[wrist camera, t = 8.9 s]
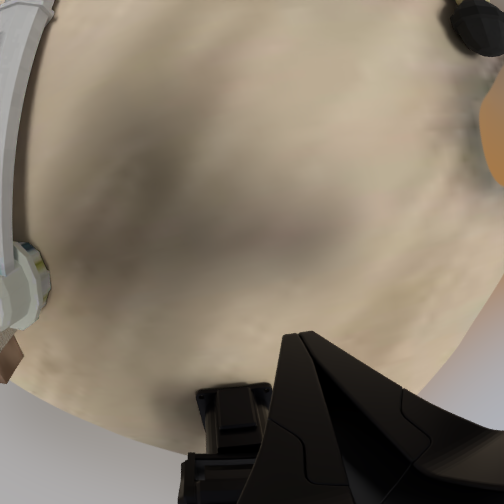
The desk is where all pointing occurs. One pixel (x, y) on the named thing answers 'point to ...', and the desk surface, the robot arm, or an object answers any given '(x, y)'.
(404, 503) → the robot arm
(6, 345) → the rail
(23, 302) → the grey elongated rounded piece
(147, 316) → the desk surface
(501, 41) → the microphone
